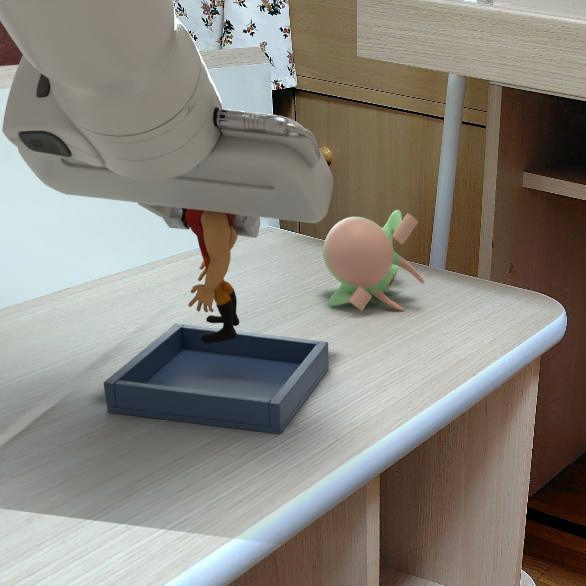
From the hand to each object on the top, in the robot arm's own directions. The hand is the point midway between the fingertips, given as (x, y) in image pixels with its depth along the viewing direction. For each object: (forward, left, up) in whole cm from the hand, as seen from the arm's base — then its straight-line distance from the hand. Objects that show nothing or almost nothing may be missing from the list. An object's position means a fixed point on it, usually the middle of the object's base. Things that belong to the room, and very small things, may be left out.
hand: (215, 224), depth 75 cm
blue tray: (0, -1, -13) cm, 13 cm away
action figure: (0, -1, -9) cm, 9 cm away
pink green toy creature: (+6, +25, -13) cm, 29 cm away
